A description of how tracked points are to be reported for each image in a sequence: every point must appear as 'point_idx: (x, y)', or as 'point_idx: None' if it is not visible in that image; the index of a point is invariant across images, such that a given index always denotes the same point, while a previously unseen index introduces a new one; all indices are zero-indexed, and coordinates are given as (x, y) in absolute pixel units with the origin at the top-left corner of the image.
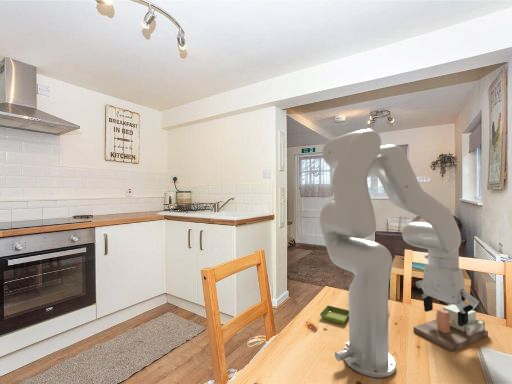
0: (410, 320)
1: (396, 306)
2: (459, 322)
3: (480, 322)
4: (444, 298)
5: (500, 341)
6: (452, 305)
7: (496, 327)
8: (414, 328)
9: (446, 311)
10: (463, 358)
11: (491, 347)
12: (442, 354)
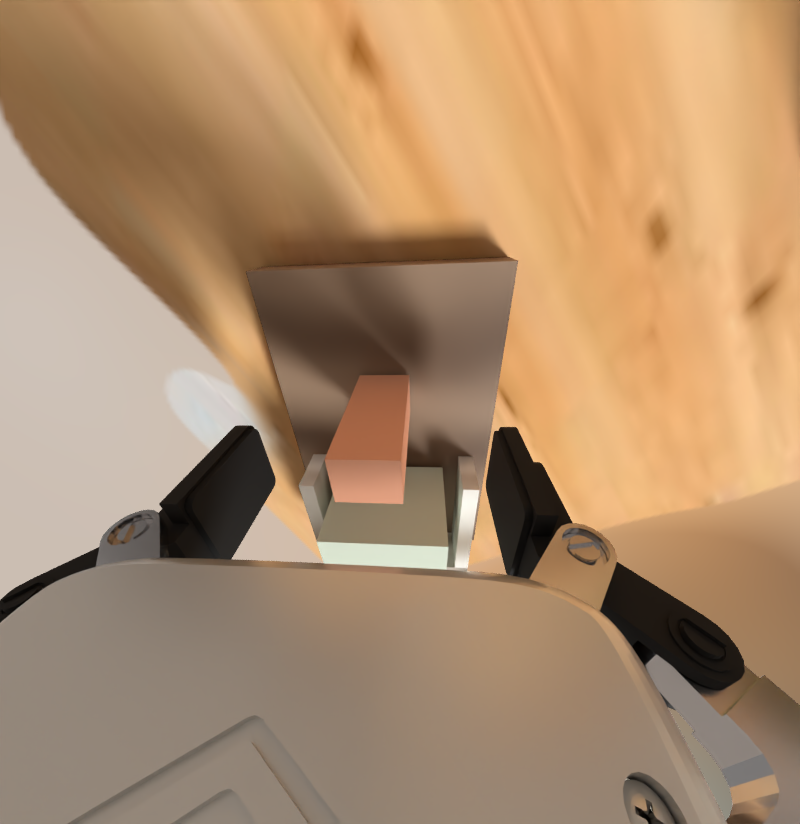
0: (590, 376)
1: (728, 453)
2: (229, 439)
3: None
4: (170, 620)
5: (294, 515)
6: None
7: None
8: (506, 259)
9: (352, 496)
10: (198, 260)
11: None
12: (242, 164)
